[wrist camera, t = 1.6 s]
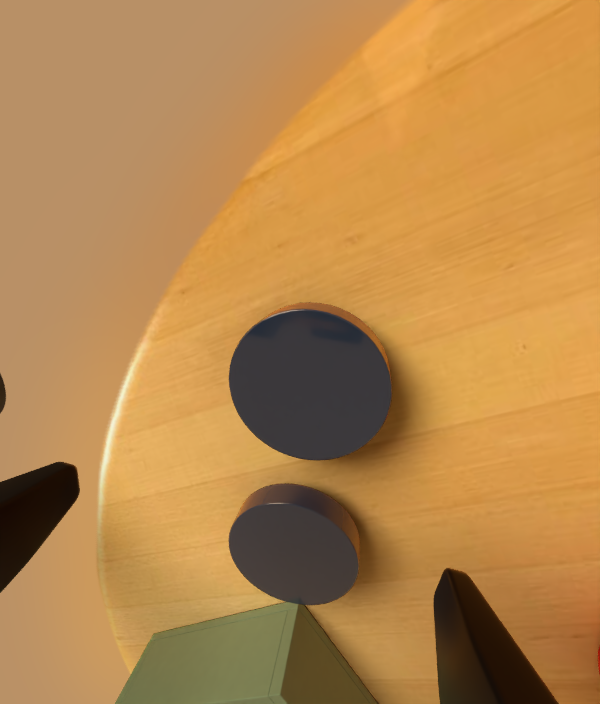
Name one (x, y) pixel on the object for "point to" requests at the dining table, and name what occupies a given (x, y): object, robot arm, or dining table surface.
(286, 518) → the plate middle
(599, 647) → the apple
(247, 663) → the tub
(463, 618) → the robot arm
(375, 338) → the dark round disc
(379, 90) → the dining table surface
